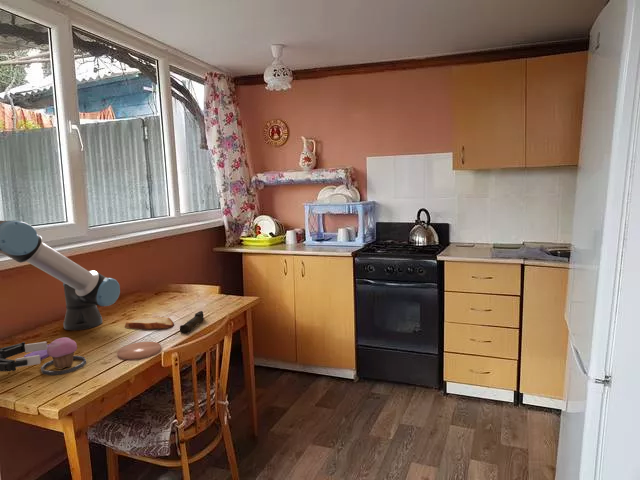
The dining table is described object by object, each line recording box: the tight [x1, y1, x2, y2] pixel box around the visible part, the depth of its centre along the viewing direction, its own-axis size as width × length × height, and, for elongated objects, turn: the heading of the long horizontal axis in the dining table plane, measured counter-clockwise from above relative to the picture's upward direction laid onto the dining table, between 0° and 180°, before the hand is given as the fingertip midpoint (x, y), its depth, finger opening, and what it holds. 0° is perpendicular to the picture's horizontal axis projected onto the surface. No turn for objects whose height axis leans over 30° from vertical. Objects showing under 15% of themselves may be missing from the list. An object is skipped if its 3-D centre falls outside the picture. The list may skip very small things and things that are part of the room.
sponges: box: [23, 343, 51, 361], centre depth 171 cm, size 7×13×2 cm, turn 169°
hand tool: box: [179, 310, 204, 335], centre depth 196 cm, size 19×4×5 cm, turn 168°
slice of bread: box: [124, 316, 175, 331], centre depth 198 cm, size 18×18×4 cm
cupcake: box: [47, 337, 78, 370], centre depth 157 cm, size 9×9×10 cm
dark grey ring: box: [40, 355, 87, 376], centre depth 157 cm, size 13×13×1 cm
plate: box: [116, 341, 162, 361], centre depth 169 cm, size 15×15×1 cm
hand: (43, 352), depth 154 cm, fingers open, 13 cm apart
